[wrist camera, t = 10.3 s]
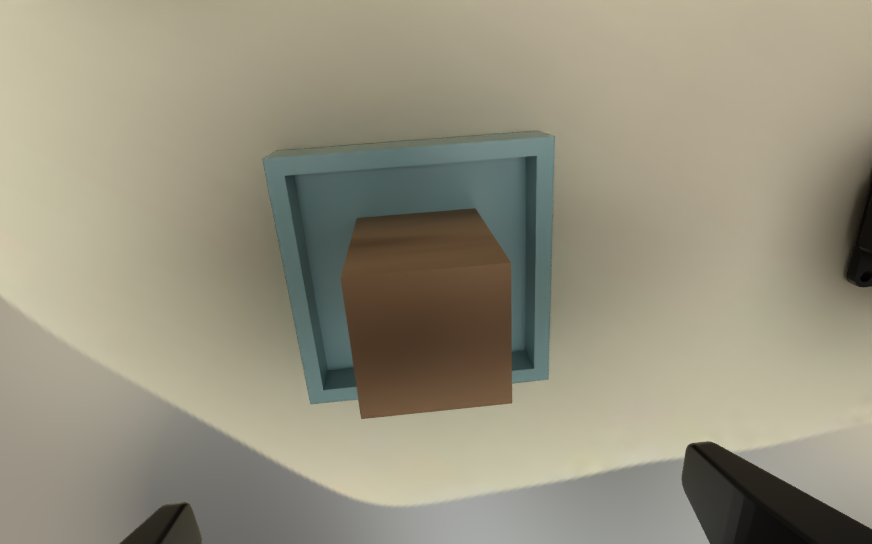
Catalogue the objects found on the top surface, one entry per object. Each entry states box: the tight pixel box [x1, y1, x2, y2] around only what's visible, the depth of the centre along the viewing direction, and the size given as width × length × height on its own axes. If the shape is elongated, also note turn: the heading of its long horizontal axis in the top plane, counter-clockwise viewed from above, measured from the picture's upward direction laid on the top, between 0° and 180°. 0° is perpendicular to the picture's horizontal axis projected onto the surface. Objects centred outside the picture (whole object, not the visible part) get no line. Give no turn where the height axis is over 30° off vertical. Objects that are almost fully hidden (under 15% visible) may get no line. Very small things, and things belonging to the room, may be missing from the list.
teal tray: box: [263, 131, 555, 404], centre depth 19 cm, size 10×10×2 cm
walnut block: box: [341, 208, 512, 419], centre depth 16 cm, size 4×4×6 cm
